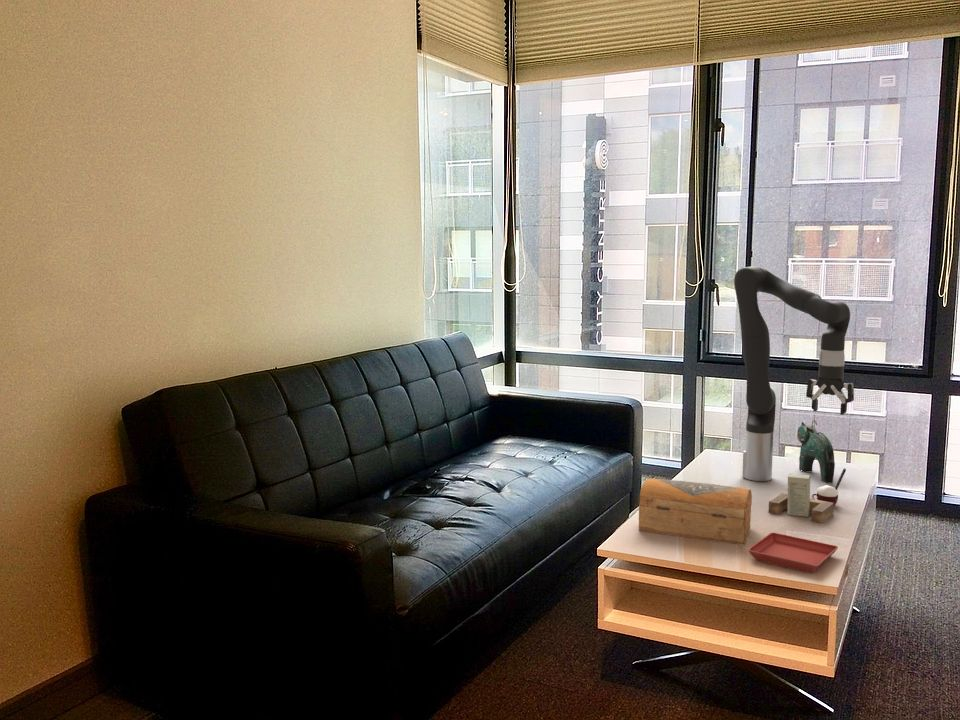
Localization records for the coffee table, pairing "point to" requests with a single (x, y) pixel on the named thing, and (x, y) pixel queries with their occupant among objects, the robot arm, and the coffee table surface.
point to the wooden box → (695, 510)
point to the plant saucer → (792, 552)
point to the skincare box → (798, 495)
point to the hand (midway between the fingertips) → (828, 412)
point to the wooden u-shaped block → (817, 507)
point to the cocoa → (829, 491)
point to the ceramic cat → (816, 452)
